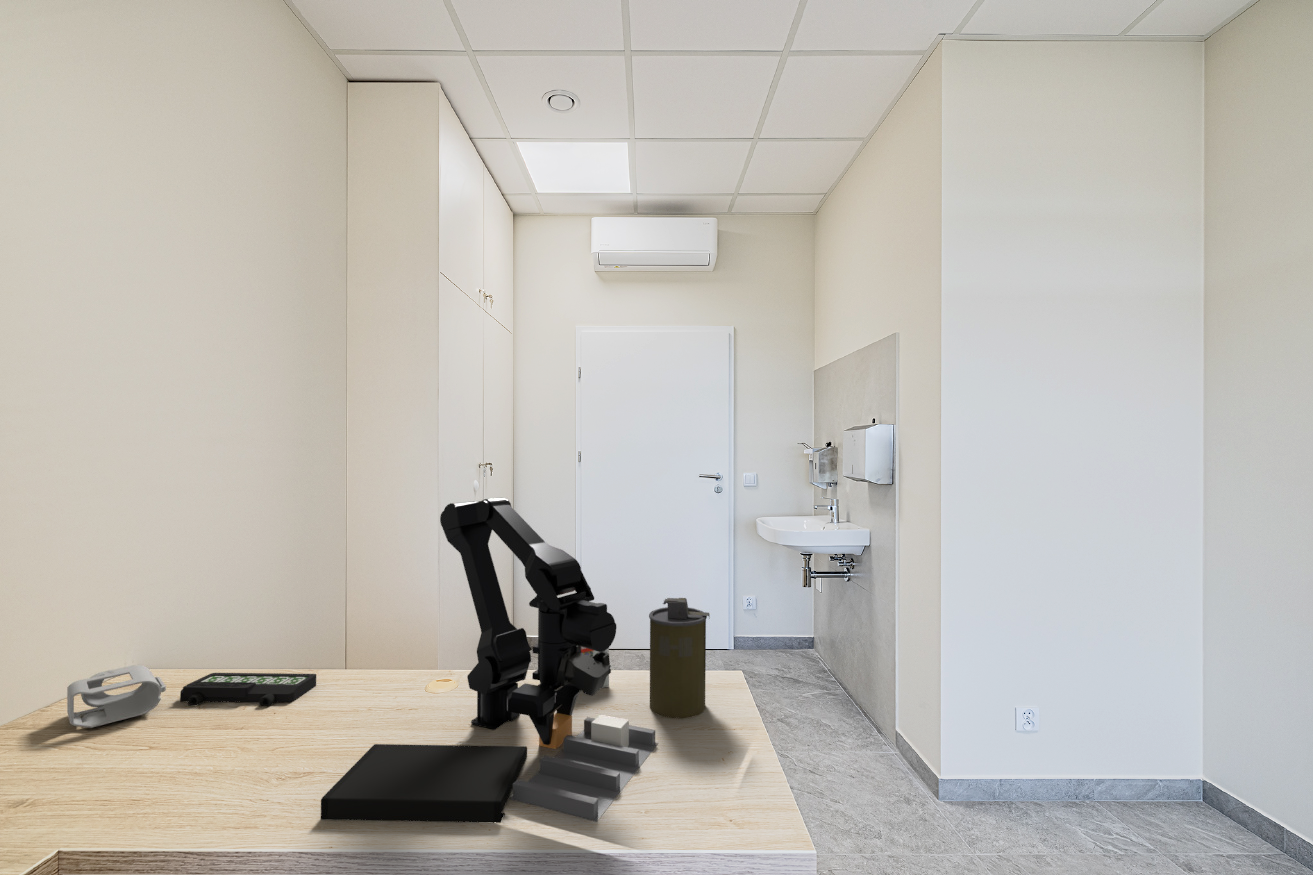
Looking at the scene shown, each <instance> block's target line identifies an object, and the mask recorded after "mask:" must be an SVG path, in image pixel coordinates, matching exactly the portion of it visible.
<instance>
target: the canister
mask: <svg viewBox="0 0 1313 875" xmlns="http://www.w3.org/2000/svg"><path fill="white" fill-rule="evenodd" d="M666 604H667V606H666V607H660V608H656V609H654V610H652V611H650V612H649V614H648V618H649V709H650V710H651V712H653V713H654V714H655V715H657V716H661V717H662V718H669V719H680V720H681V719H682V720H683V719H689V718H690V719H691V718H694V717H696V716H699V715H701V714H702V713H704V711H705V710H706V671H707V670H706V667H707V665H706V660H707V657H706V655H707V654H706V652H707V650H706V649H707V648H706V645H707V644H706V640H707V639H706V638H707V633H706V632H707V630H706V629H707V626H706V625H707V618H711V617H710V612H707V611H705V612H704V611H703V610H700V609H697V608H694V607H689V605H688V604H689V603H688V600H687V598H686V597H675V598H674V597H666V598H665V599H664V600H663V602H662V605H666Z"/></svg>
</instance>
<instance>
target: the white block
mask: <svg viewBox="0 0 1313 875" xmlns="http://www.w3.org/2000/svg"><path fill="white" fill-rule="evenodd" d="M629 725H630V720H629V719H627V718H626V719H625V718H621V717H616V716H615V717H614V716H612V715H611V716H609V715H605V714H599V715H598V716H597V717H596V718H595V720H594V721H592V722H591V740H594V741H599V742H604V743H609V744H614V745H618V746H623V747H628V746H629Z"/></svg>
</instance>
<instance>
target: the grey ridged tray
mask: <svg viewBox="0 0 1313 875" xmlns="http://www.w3.org/2000/svg"><path fill="white" fill-rule="evenodd" d="M595 719H596V718H594V717H590V716H587V717H586V718H585V719H583V730H582V731H581V732H580V733H578V734H577V735H575V736H574V735H571V736H570V735H567V736H566V737H565V738H563V743H562V744H563V746H562V747H563V748H562V749H561V750H560V751H559V752H558V753H557V754H556V755H555V756H554V757H553V756H548V755H543V756H542V757H541V758H540V759H539V770H538V771H537V772H536V773H535V774H533V776H532V777H531V778H529V780H528V781H527V780H523V779H519V778H517V780H516V781H515V782H514V783H513V789H512V795H511V796H509V798H508V800H512V801H516V802H520V803H523V804H528V805H531V806H535V807H539V808H542V809H545V810H550V811H553V812H559V813H562V814H565V815H569V816H573V817H577V818H580V819H584V820H589V821H592V822H596V823H597V822H598V821H599V819H601V817H602V816H603V814H604V813H605V812H606V811H607V810H608V808H610V806H611V804H613V802H614V801H615V799H616V798H617V797H618V796H619V794H620V793H621V792H622V791H623V789H624V788H625V787H626V785H628V783H629V782H630V780H631V779H632V778H633V777H634V775H635V774H636V772H637V771H638V770H639V769H640V768H641V766H642V765H643V764H644V763H645V761H646V760H647V759H648V757H649V756H650V755H651V754H652V752H653V751H654V749H655V748H657V746H658V744H659V742H656V729H652V728H647V727H641V726H636V725H631V724H629V746H628V747H623V746H618V745H614V744H609V743H604V742H599V741H594V740H591V722H592V721H594V720H595Z"/></svg>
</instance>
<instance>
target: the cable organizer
mask: <svg viewBox="0 0 1313 875" xmlns="http://www.w3.org/2000/svg"><path fill="white" fill-rule="evenodd" d="M124 675H129V677H130V678H131V679H129V680H123V681H120V682H115V683H110V684H106V685H103V682H104V681H105V680H106V679H110V678H116V677H121V676H124ZM138 684H140V685H139V686H138V687H137V688H135V689H133V690H130V691H126V692H122V693H119V694H109V693H106V692H108V691H112V690H117V689H120V688H121V689H122V688H125V687H131V686H134V685H138ZM66 688H67V692H66V694H67V695H66V696H67V702H66V705H67V717H68V721H69V724H70V725H71V726H74V727H81V728H90V729H92V728H95V727H100V726H104V725H107V724H110V723H115V722H119V721H122V720H127V719H130V718H135V717H139V716H142V715H145V714H147V713H149V712H151V711H152V710H154V709H155V708H156V707H157V706H158V705H159V703H160V702H161V700H162V697H161V695H162V694H161V693H164V692H166V690H167V685H166V684H165V682H164V681H163V680H162V678H161V677H160V676H155V675H154V674H153V673H152V670H150V668H148V667H147V666H145V665H143V664H142V665H140V664H134V665H128V666H124V667H119V668H115V669H111V670H110V669H109V670H105V671H101V672H98V673H95V674H94V675H91V677H89V678H83V679H80V680H79V679H78V680H76V681H73V682H72V683H71V684H69V685H68V686H67V687H66ZM77 695H80V696H81V700H82V701H83V703H84V705H85V704H86V705H87V706H88V707H91V708H89V709H85V710H82V711H78V712H77V711H75V698H74V697H75V696H77ZM81 716H82V717H81Z"/></svg>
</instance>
